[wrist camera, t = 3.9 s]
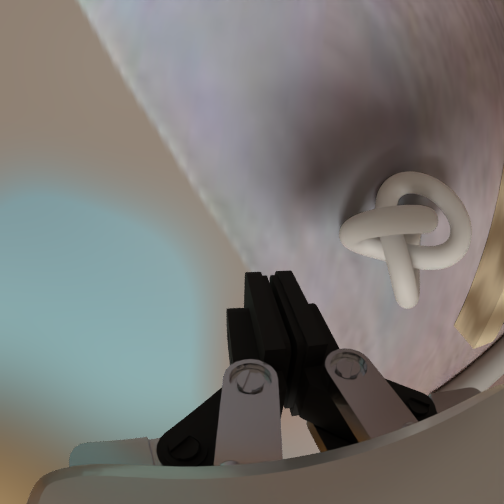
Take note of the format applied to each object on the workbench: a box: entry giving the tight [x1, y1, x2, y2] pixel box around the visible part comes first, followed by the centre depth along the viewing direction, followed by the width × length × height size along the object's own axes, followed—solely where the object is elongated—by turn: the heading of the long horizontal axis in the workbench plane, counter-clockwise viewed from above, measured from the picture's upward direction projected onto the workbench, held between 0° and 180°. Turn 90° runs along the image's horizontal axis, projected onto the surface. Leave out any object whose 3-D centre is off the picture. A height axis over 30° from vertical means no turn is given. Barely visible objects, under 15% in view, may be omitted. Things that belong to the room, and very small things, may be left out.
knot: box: [339, 171, 472, 309], centre depth 16 cm, size 8×8×6 cm
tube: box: [435, 336, 504, 393], centre depth 28 cm, size 5×5×25 cm
